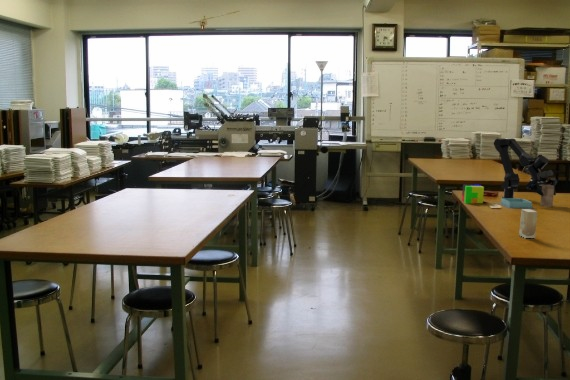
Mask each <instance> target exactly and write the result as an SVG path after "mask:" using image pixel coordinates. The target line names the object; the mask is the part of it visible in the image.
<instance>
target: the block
mask: <svg viewBox="0 0 570 380" xmlns="http://www.w3.org/2000/svg"><path fill="white" fill-rule="evenodd" d="M541 191H542V192H543V196H541V195H540V204H539V205H540V206H541V207H545V208H548V207H549V208H550V207H551V208H552V207H553V205H554V204H553V203H554V196H555V195H554V186H553V185H541Z"/></svg>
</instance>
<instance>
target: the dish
mask: <svg viewBox="0 0 570 380" xmlns="http://www.w3.org/2000/svg"><path fill="white" fill-rule="evenodd" d="M500 200H501V201H500V203H501V204H503V205H505V206H507V207H509V208H532V207H533V202H532V201H530V200H527V199H525V198H516V197H514V198H502V197H501V198H500Z"/></svg>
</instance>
